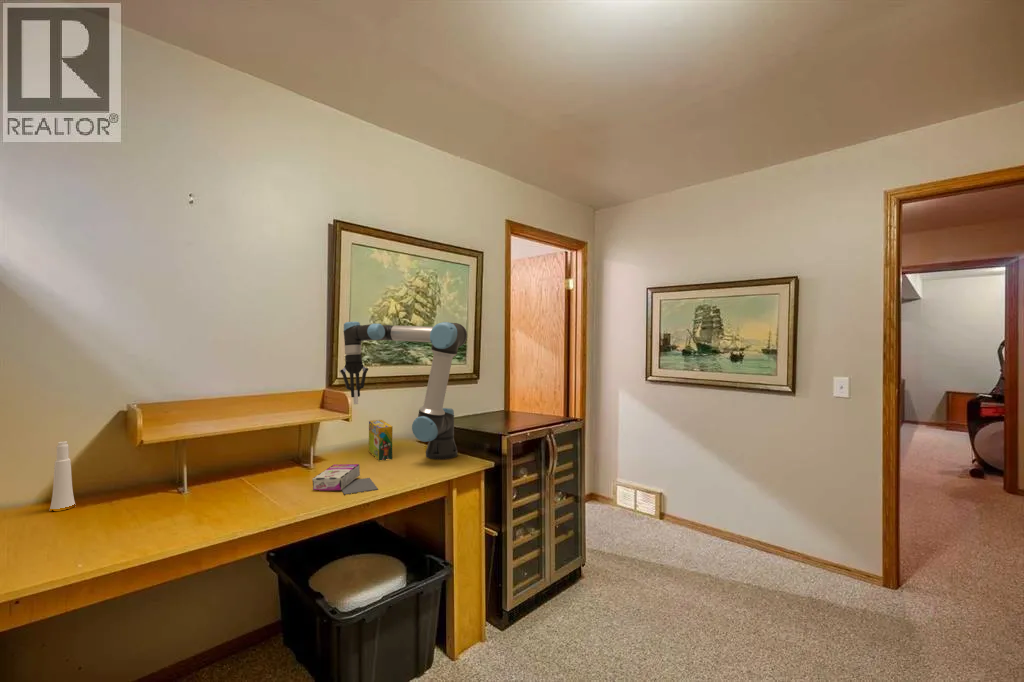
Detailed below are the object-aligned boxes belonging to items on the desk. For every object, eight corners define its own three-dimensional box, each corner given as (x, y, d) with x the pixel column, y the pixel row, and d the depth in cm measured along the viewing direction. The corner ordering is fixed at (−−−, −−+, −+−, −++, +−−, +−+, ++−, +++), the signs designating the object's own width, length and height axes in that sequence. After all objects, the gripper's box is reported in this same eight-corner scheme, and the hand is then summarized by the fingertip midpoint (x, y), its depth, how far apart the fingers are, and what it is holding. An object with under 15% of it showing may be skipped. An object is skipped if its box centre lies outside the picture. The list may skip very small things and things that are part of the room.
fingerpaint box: (393, 459, 208) (393, 425, 208) (378, 461, 205) (378, 427, 204) (382, 450, 224) (382, 419, 224) (368, 452, 221) (368, 420, 221)
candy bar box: (334, 476, 181) (312, 491, 165) (333, 464, 181) (311, 477, 165) (360, 476, 180) (341, 490, 164) (360, 463, 180) (340, 477, 163)
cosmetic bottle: (78, 507, 148) (78, 441, 148) (53, 513, 143) (52, 445, 142) (71, 503, 151) (71, 439, 151) (46, 509, 146) (46, 442, 146)
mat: (369, 478, 179) (369, 477, 179) (378, 489, 166) (378, 488, 166) (337, 483, 173) (337, 482, 173) (344, 495, 160) (344, 494, 160)
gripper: (365, 354, 218) (368, 402, 217) (337, 355, 212) (340, 405, 211) (369, 353, 212) (371, 402, 210) (340, 354, 205) (342, 405, 204)
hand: (356, 404), depth 211 cm, fingers closed
